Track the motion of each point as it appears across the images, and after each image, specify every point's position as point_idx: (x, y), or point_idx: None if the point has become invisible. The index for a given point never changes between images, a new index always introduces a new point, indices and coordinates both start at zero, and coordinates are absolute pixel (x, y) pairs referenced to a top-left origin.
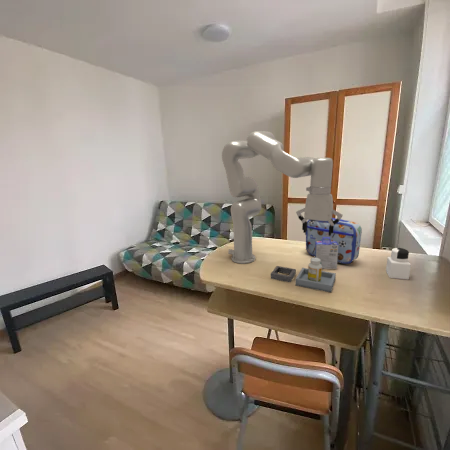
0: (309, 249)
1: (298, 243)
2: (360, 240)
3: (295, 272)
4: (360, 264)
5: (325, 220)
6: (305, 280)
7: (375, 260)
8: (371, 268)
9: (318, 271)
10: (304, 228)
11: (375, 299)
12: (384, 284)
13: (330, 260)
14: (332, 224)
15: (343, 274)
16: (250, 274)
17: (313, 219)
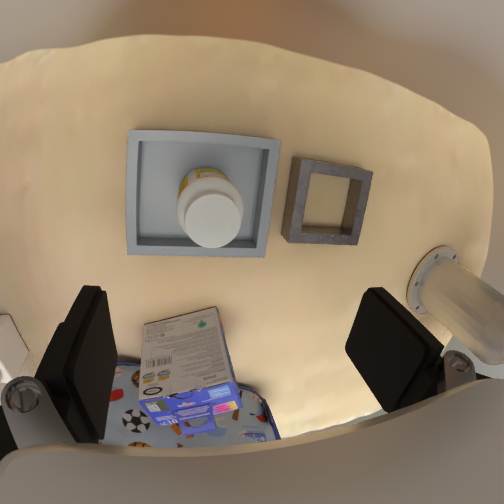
0: (255, 399)
1: (287, 429)
2: None
3: (285, 231)
4: None
5: (96, 456)
6: (239, 138)
7: None
8: None
9: (189, 181)
10: (399, 310)
11: (12, 154)
12: (6, 267)
13: (165, 342)
14: (26, 401)
15: (115, 295)
16: (415, 183)
17: (416, 412)
